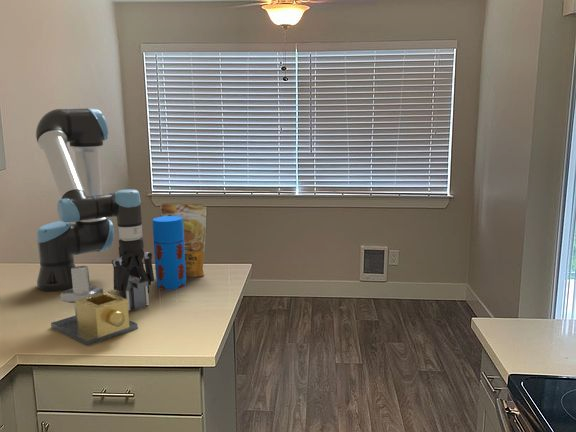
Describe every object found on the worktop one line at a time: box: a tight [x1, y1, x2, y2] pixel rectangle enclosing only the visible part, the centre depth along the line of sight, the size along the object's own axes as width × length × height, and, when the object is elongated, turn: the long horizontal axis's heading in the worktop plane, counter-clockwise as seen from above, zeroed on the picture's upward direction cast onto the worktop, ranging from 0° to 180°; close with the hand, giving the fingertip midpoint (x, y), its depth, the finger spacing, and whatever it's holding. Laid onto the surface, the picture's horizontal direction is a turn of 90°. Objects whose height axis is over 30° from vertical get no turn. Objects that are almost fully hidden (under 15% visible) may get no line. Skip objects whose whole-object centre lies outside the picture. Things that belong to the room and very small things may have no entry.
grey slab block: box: [126, 275, 148, 312], centre depth 179 cm, size 10×4×10 cm, turn 49°
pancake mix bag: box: [158, 203, 209, 278], centre depth 214 cm, size 7×19×28 cm, turn 76°
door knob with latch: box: [50, 265, 139, 347], centre depth 161 cm, size 26×16×18 cm, turn 49°
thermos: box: [152, 216, 187, 291], centre depth 201 cm, size 11×11×25 cm
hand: (136, 306), depth 180 cm, fingers open, 6 cm apart
